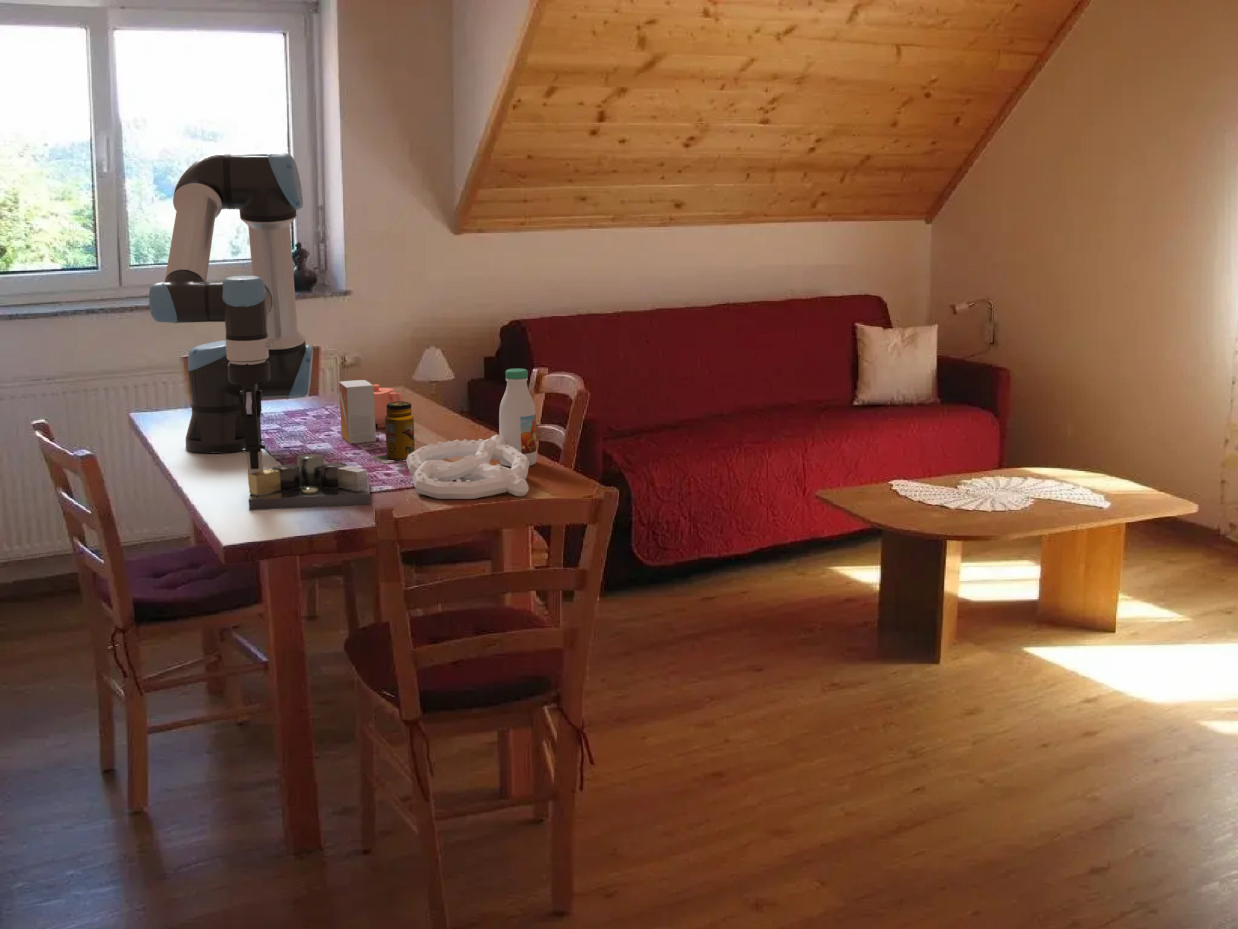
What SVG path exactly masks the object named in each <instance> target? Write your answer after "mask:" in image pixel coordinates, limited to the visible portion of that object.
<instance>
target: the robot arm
mask: <svg viewBox="0 0 1238 929" xmlns="http://www.w3.org/2000/svg"><path fill="white" fill-rule="evenodd" d="M302 192H303V190H302V184H301V180H300V173H299V170H298V166H297V163H296V161H295V158H294V157H293V156H292V155H291V154H290V153H286V152H276V151H270V150H269V151H242V152H240V151H239V152H237V151H236V152H227V151H223V152H221V151H219V152H213V153H211V154H208V155H205V156H203V157H201V158H199V159H198V160H197V161H195V162H194V163H192V165H190V166H189V167H188V168H187V169H186V170H185V172H184V173H183V174H182V175H181V177H180V178H179V179H178V182H177V183H176V185H175V188H174V192H173V197H172V203H173V207H174V210H175V212H176V213H175V219H174V224H173V230H172V236H171V241H170V242H171V243H170V248H169V254H168V259H167V265H166V271H165V277H164V281H161V282H155V283H152V284H151V286H150V288H149V292H148V302H149V304H148V305H149V311H150V315H151V318H152V319H153V321H155V322H156V323H171V324H185V323H186V324H187V323H188V324H189V323H211V322H212V323H221V322H222V323H224V324H225V338H224V339H225V340H224V339H223V340H217V341H213V342H208V343H202V344H200V345H197V346H194V347H192V348H191V349H190V350H189V351H188V356H187V357H188V359H187V362H188V364H187V366H188V368H187V371H188V376H189V389H190V390H189V392H190V404H191V405H190V406H191V415H190V420H189V424H188V428H187V432H186V435H185V449H186V450H187V451H189V452H193V453H199V454H226V453H227V454H228V453H234V452H235V453H236V452H241V451H242V453H246V464H247V480H248V484H249V475H248V474H250V473H255V472H260V471H264V467H263V465H264V464H263V451H262V449H263V450H264V449H266V444H262V442H263V439H262V427H261V425H262V423H261V413H262V412H263V411H262V408H263V407H262V400H266V399H267V400H271V399H274V400H275V399H276V400H278V399H280V400H283V399H286V400H289V399H296V398H305V397H306V396H308V394H309V392H310V389H311V380H312V369H313V357H314V356H313V355H314V347H313V345H311V344H306V343H307V342H306V337H305V335H303V333H301V332H300V331H299V330H298V320H297V318H298V315H297V306H296V305H297V304H296V291H295V276H294V264H293V262H294V261H293V252H292V238H291V236H292V234H291V224H292V222H293V221H294V220H295V219H296V218H297V210H300V209H302V208H303V206H304V205H303V204H304V200H303V193H302ZM222 210H238V211H239V219H240V220H241V221H242V222H244V224H246V225H247V227H248V237H249V248H250V249H249V250H250V259H251V260H250V261H251V273H252V275H232V276H227V277H226V278H224V280H223V281H207V279H208V271H209V265H210V258H211V251H212V244H213V243H212V242H213V235H214V228H215V221H216V218H217V217H219V215H220V214H221V212H222Z"/></svg>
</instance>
